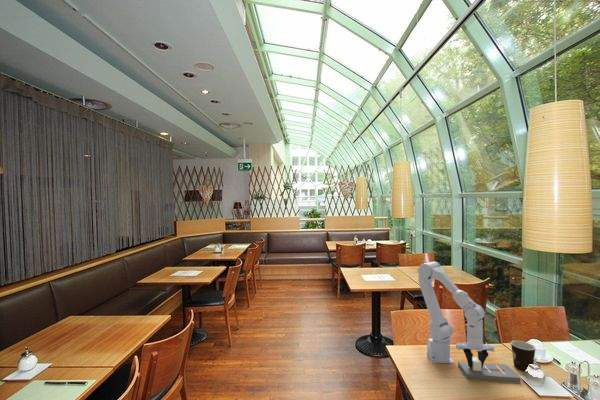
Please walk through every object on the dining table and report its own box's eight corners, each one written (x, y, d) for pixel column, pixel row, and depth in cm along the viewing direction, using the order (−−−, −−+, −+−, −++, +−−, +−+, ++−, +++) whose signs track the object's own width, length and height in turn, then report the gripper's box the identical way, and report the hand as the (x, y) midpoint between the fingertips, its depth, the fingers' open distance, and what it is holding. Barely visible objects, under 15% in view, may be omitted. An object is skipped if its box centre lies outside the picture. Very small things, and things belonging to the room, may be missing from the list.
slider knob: (473, 370, 126) (473, 361, 126) (469, 365, 131) (469, 356, 131) (481, 371, 126) (481, 362, 126) (476, 365, 130) (476, 357, 130)
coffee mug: (535, 376, 126) (535, 352, 126) (510, 369, 131) (510, 346, 131) (534, 364, 136) (534, 341, 136) (511, 358, 141) (511, 336, 141)
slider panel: (467, 379, 124) (467, 374, 124) (458, 366, 134) (458, 361, 134) (520, 382, 122) (520, 377, 122) (506, 369, 132) (506, 364, 132)
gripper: (460, 338, 125) (461, 371, 125) (498, 339, 124) (498, 373, 123) (454, 330, 132) (454, 362, 132) (489, 332, 131) (489, 364, 131)
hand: (475, 367), depth 128 cm, fingers open, 3 cm apart
